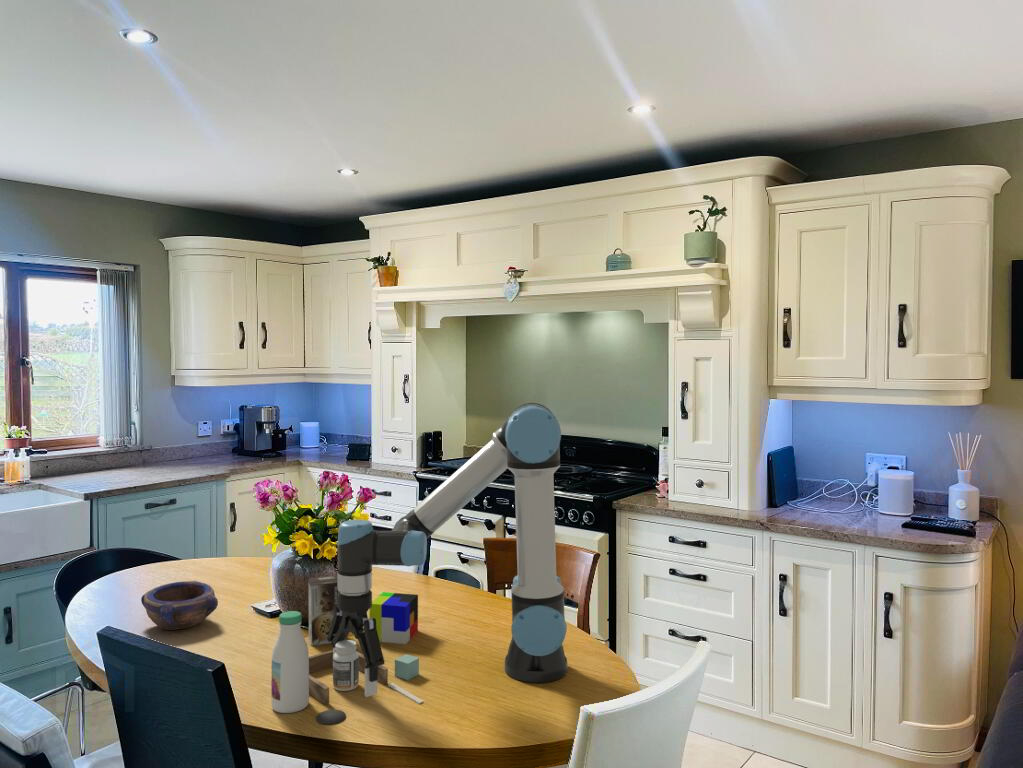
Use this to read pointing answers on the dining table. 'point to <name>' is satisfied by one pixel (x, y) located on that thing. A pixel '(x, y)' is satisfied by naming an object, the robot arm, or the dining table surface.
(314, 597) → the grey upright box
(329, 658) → the cubby
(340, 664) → the pill bottle
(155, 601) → the bowl
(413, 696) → the strip
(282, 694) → the milk bottle
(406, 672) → the teal block
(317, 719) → the drain disc
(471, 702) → the dining table surface
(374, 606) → the puzzle toy
